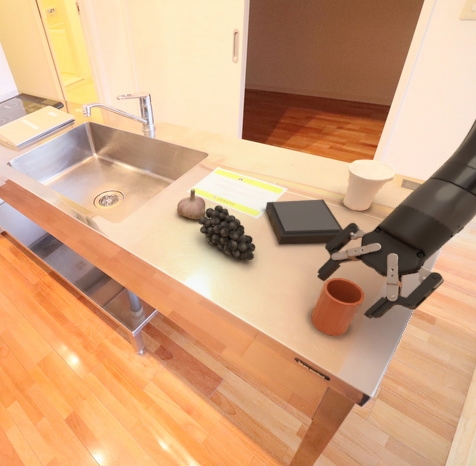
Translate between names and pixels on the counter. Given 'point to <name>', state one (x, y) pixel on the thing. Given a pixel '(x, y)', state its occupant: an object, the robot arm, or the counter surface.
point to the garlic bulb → (192, 206)
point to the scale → (302, 221)
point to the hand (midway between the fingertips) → (342, 296)
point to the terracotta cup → (337, 306)
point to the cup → (366, 182)
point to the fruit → (227, 233)
